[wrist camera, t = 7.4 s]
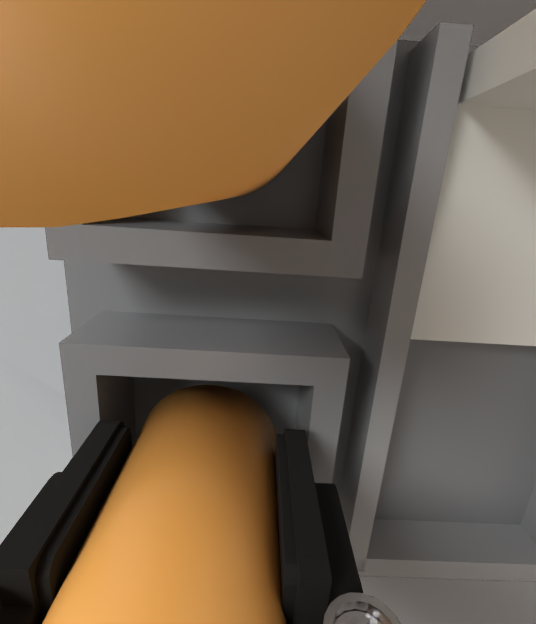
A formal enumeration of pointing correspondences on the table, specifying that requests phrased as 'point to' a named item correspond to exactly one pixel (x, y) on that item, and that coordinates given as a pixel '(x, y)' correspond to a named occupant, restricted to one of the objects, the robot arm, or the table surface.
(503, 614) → the table surface
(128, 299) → the housing
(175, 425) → the peg
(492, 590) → the table surface
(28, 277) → the table surface
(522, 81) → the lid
